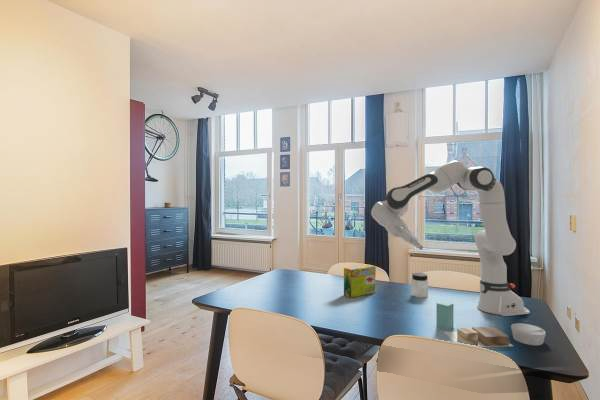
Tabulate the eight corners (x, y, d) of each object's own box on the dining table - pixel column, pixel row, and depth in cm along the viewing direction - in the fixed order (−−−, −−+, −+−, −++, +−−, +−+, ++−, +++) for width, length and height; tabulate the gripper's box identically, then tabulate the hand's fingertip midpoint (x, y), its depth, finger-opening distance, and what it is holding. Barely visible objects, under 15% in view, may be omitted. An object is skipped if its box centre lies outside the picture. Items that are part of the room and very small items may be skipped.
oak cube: (468, 340, 131) (468, 327, 131) (477, 345, 126) (477, 332, 126) (457, 341, 130) (457, 328, 130) (466, 347, 125) (466, 333, 125)
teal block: (441, 325, 148) (441, 300, 148) (453, 329, 144) (453, 303, 144) (436, 328, 144) (436, 303, 144) (448, 332, 141) (448, 306, 140)
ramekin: (543, 351, 123) (543, 337, 123) (508, 342, 131) (508, 329, 131) (547, 341, 132) (547, 328, 132) (513, 333, 139) (513, 320, 139)
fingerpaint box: (367, 290, 203) (367, 263, 203) (375, 292, 197) (375, 265, 197) (342, 295, 193) (342, 267, 193) (350, 298, 187) (350, 269, 187)
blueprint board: (491, 332, 140) (491, 330, 140) (513, 348, 126) (513, 346, 126) (443, 333, 139) (443, 331, 139) (461, 349, 125) (461, 347, 125)
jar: (413, 297, 188) (413, 276, 187) (409, 293, 196) (409, 272, 196) (430, 297, 187) (430, 276, 187) (425, 293, 195) (425, 272, 195)
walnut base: (494, 335, 135) (494, 326, 135) (509, 345, 126) (509, 336, 126) (472, 336, 135) (472, 327, 135) (485, 346, 126) (485, 336, 126)
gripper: (398, 220, 154) (422, 241, 147) (406, 225, 171) (428, 244, 165) (388, 230, 155) (412, 251, 148) (397, 235, 172) (419, 254, 166)
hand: (421, 248), depth 157 cm, fingers open, 8 cm apart
